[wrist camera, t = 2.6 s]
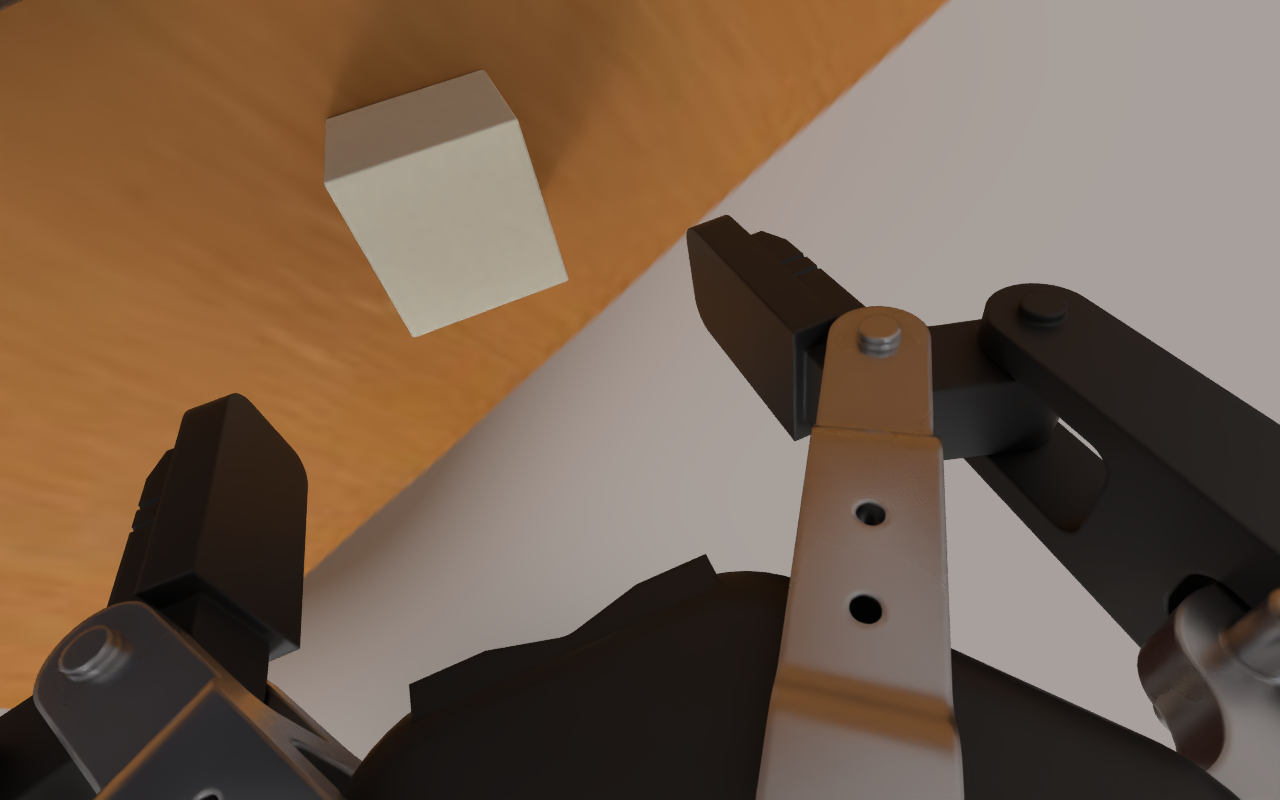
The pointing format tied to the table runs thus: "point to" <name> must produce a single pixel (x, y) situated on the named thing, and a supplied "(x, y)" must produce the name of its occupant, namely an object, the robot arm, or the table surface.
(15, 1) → the caddy
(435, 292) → the block
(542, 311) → the table surface
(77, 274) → the table surface
